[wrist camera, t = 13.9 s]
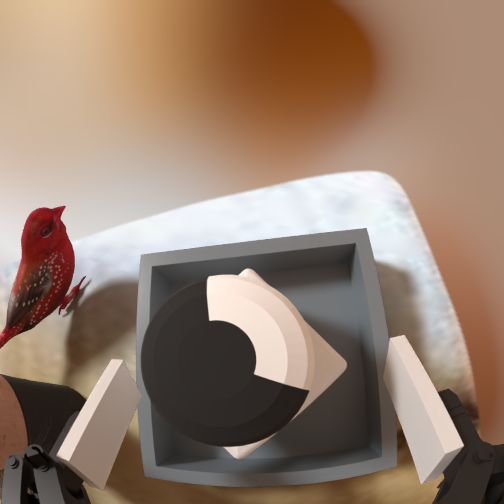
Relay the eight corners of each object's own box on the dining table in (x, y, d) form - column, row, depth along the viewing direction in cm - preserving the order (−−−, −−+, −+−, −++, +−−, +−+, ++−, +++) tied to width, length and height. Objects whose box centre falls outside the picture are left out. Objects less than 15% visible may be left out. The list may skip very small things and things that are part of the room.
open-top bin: (170, 461, 18) (144, 476, 13) (165, 275, 24) (141, 254, 20) (378, 450, 16) (397, 466, 12) (354, 254, 23) (366, 228, 18)
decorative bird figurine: (120, 253, 26) (55, 198, 17) (32, 378, 21) (-41, 364, 12) (105, 239, 27) (44, 184, 18) (22, 359, 22) (-47, 341, 13)
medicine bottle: (256, 434, 17) (208, 503, 6) (191, 362, 20) (86, 341, 9) (331, 367, 18) (382, 359, 8) (262, 298, 21) (227, 213, 10)
